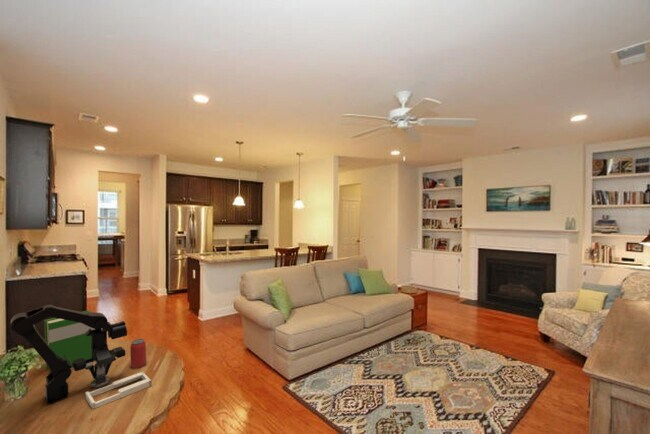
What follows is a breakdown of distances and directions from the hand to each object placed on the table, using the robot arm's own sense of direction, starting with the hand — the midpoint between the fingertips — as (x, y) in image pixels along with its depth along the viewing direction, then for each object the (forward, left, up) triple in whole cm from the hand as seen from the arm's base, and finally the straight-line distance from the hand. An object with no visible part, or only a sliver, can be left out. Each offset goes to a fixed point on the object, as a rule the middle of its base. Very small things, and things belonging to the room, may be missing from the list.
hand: (100, 376), depth 142 cm
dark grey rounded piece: (0, 0, -3) cm, 3 cm away
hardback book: (-5, +30, -3) cm, 31 cm away
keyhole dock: (+4, -13, -3) cm, 14 cm away
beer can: (+17, +5, -3) cm, 18 cm away
